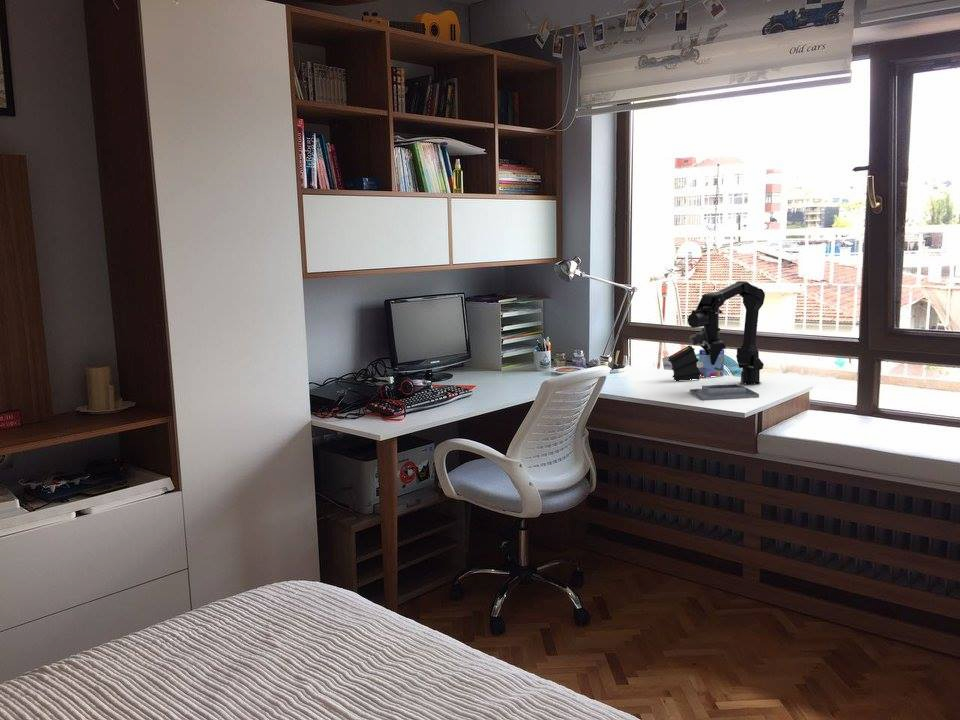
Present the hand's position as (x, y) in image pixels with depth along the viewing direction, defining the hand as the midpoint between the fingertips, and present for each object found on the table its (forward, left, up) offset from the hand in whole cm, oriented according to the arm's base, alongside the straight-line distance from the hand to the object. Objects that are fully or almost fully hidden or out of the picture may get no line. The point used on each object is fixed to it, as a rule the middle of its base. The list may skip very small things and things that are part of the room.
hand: (711, 364), depth 325 cm
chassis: (-2, +8, -11) cm, 14 cm away
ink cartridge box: (-11, -32, -11) cm, 35 cm away
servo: (0, 0, -1) cm, 1 cm away
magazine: (+3, -26, -11) cm, 28 cm away
